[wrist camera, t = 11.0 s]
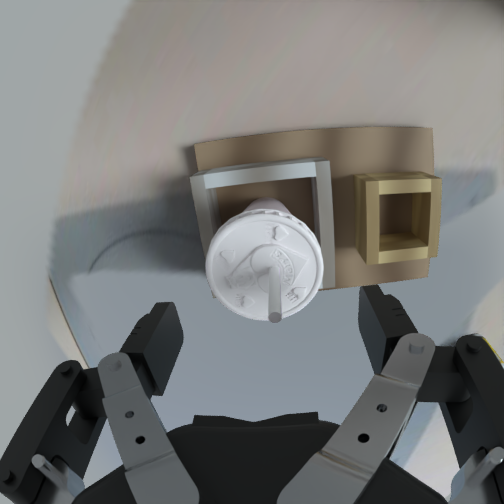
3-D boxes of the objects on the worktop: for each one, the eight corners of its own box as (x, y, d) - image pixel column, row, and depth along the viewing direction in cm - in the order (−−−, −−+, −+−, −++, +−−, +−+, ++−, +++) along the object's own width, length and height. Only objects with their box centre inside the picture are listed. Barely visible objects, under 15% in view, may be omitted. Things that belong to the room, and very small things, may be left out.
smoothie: (314, 242, 26) (352, 355, 13) (243, 264, 27) (219, 386, 14) (292, 170, 23) (319, 223, 10) (216, 195, 24) (156, 274, 12)
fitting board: (424, 127, 22) (453, 129, 18) (421, 270, 27) (443, 294, 23) (198, 143, 24) (181, 146, 20) (224, 291, 30) (215, 320, 25)
